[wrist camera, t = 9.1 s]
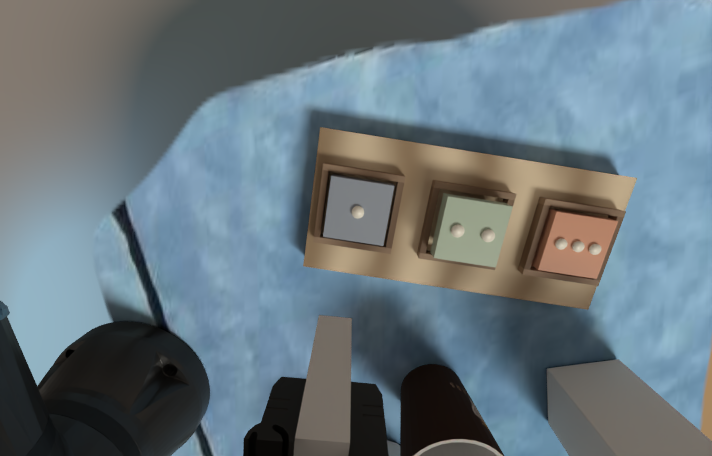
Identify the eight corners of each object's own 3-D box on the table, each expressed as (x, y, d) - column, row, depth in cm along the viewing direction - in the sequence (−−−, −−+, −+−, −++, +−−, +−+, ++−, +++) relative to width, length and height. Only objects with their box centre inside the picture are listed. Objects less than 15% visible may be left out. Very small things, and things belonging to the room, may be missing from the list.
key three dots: (529, 263, 30) (539, 270, 28) (546, 207, 28) (558, 212, 27) (585, 272, 30) (598, 279, 28) (605, 217, 28) (619, 222, 27)
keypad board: (307, 258, 32) (301, 270, 29) (323, 127, 29) (318, 126, 26) (574, 299, 33) (595, 315, 30) (619, 175, 30) (646, 179, 27)
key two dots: (430, 251, 28) (434, 259, 27) (443, 193, 27) (448, 196, 25) (488, 260, 29) (496, 268, 27) (505, 202, 27) (513, 207, 26)
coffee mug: (387, 357, 35) (396, 442, 25) (472, 352, 34) (515, 436, 25) (394, 447, 38) (404, 554, 28) (472, 443, 38) (510, 550, 28)
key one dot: (325, 231, 29) (322, 237, 28) (332, 173, 28) (330, 176, 26) (382, 240, 29) (383, 246, 28) (392, 183, 28) (394, 186, 26)
